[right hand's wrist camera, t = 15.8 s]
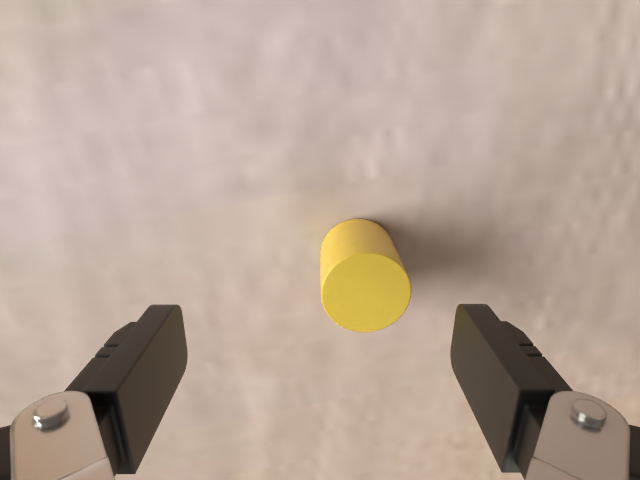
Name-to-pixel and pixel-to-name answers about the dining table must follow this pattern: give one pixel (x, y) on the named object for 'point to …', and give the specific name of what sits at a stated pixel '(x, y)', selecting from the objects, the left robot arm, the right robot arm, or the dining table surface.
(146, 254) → the dining table surface
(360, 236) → the canister
